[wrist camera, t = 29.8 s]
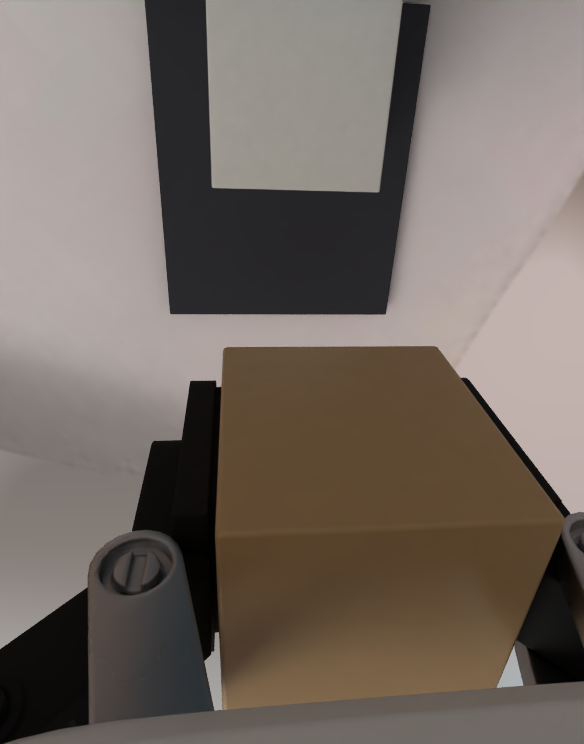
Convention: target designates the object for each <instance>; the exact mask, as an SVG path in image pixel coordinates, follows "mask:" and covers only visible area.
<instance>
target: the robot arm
mask: <svg viewBox="0 0 584 744" xmlns="http://www.w3.org/2000/svg"><path fill="white" fill-rule="evenodd" d="M461 380H462V381H463V382H464V384H465V385H466V386H467V388H468V389H469V390H470V392H471V393H472V394H473V396H474V397H475V398H476V400H477V401H478V402H479V404H480V405H481V406H482V408H483V409H484V410H485V412H486V413H487V415H488V416H489V417H490V419H491V420H492V421H493V423H494V424H495V425H496V427H497V428H498V429H499V431H500V432H501V433H502V435H503V436H504V437H505V439H506V440H507V441H508V443H509V444H510V445H511V447H512V448H513V449H514V451H515V452H516V453H517V455H518V456H519V458H520V459H521V460H522V462H523V463H524V464H525V466H526V467H527V468H528V470H529V471H530V472H531V474H532V475H533V476H534V478H535V479H536V480H537V482H538V483H539V484H540V486H541V487H542V488H543V490H544V491H545V492H546V494H547V495H548V496H549V498H550V499H551V501H552V502H553V503H554V505H555V506H556V507H557V509H558V510H559V511H560V513H561V514H562V515H563V517H564V519H565V525H564V527H563V529H562V532H561V534H560V537H559V539H558V541H557V544H556V546H555V549H554V551H553V553H552V556H551V558H550V561H549V563H548V565H547V568H546V570H545V573H544V575H543V577H542V580H541V582H540V584H539V587H538V589H537V592H536V594H535V596H534V599H533V601H532V604H531V606H530V608H529V611H528V613H527V616H526V618H525V620H524V623H523V625H522V628H521V630H520V632H519V635H518V637H517V640H516V642H515V644H514V645H515V652H516V656H517V660H518V664H519V668H520V673H521V677H522V680H523V685H524V686H516V687H502V688H489V689H476V690H463V691H450V692H437V693H424V694H411V695H398V696H386V697H373V698H361V699H349V700H337V701H324V702H312V703H300V704H288V705H276V706H264V707H252V708H240V709H228V710H217V711H214V707H213V702H212V698H211V692H210V688H209V682H208V678H207V673H206V668H205V663H204V661H205V660H206V659H207V658H208V657H209V656H210V655H211V652H212V651H214V639H215V632H219V616H218V593H217V570H216V547H215V523H216V501H217V478H218V455H219V432H220V410H221V387H216V381H190V387H189V394H188V401H187V408H186V414H185V421H184V428H183V435H182V440H175V441H153V443H152V445H151V449H150V453H149V458H148V462H147V467H146V471H145V476H144V480H143V484H142V489H141V493H140V498H139V503H138V507H137V511H136V515H135V520H134V524H133V529H132V532H129V533H126V534H123V535H120V536H118V537H116V538H114V539H113V540H111V541H109V542H108V543H106V544H105V545H104V546H103V547H102V548H101V549H100V550H99V551H98V552H97V553H96V555H95V556H94V558H93V560H92V561H91V563H90V566H89V572H88V588H86V589H85V590H83V591H82V592H80V593H79V594H78V595H76V596H75V597H74V598H72V599H70V600H69V601H68V602H66V603H65V604H63V605H62V606H61V607H59V608H58V609H56V610H55V611H54V612H52V613H51V614H49V615H48V616H47V617H45V618H44V619H42V620H41V621H39V622H38V623H37V624H35V625H34V626H33V627H31V628H30V629H28V630H27V631H25V632H24V633H22V634H21V635H20V636H18V637H17V638H15V639H14V640H13V641H11V642H10V643H9V644H7V645H5V646H4V647H3V648H1V649H0V744H584V513H583V512H578V513H574V514H570V512H569V511H568V510H567V509H566V507H565V506H564V505H563V503H562V501H561V499H560V498H559V497H558V495H557V494H556V493H555V491H554V490H553V489H552V487H551V486H550V485H549V484H548V483H547V481H546V480H545V478H544V477H543V476H542V474H541V473H540V472H539V471H538V469H537V468H536V467H535V465H534V464H533V463H532V461H531V460H530V459H529V457H528V456H527V455H526V454H525V452H524V451H523V450H522V448H521V447H520V446H519V444H518V443H517V442H516V441H515V439H514V438H513V437H512V435H511V434H510V433H509V431H508V430H507V429H506V427H505V426H504V425H503V424H502V422H501V421H500V420H499V418H498V417H497V416H496V415H495V413H494V412H493V411H492V409H491V408H490V407H489V405H488V404H487V403H486V402H485V400H484V399H483V398H482V396H481V395H480V394H479V392H478V391H477V390H476V388H475V387H474V386H473V385H472V383H471V382H470V381H469V380H468V379H467V378H461Z"/></svg>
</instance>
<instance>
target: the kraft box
mask: <svg viewBox="0 0 584 744" xmlns="http://www.w3.org/2000/svg"><path fill="white" fill-rule="evenodd" d="M564 525H565V519H564V517H563V515H562V514H561V513H560V511H559V510H558V509H557V507H556V506H555V505H554V503H553V502H552V501H551V499H550V498H549V496H548V495H547V494H546V492H545V491H544V490H543V488H542V487H541V486H540V484H539V483H538V482H537V480H536V479H535V478H534V476H533V475H532V474H531V472H530V471H529V470H528V468H527V467H526V466H525V464H524V463H523V462H522V460H521V459H520V458H519V456H518V455H517V453H516V452H515V451H514V449H513V448H512V447H511V445H510V444H509V443H508V441H507V440H506V439H505V437H504V436H503V435H502V433H501V432H500V431H499V429H498V428H497V427H496V425H495V424H494V423H493V421H492V420H491V419H490V417H489V416H488V415H487V413H486V412H485V410H484V409H483V408H482V406H481V405H480V404H479V402H478V401H477V400H476V398H475V397H474V396H473V394H472V393H471V392H470V390H469V389H468V388H467V386H466V385H465V384H464V382H463V381H462V380H461V378H460V377H459V376H458V374H457V373H456V371H455V370H454V369H453V367H452V366H451V365H450V363H449V362H448V361H447V359H446V358H445V357H444V355H443V354H442V353H441V351H440V350H439V349H438V347H435V346H395V347H227V348H224V350H223V364H222V387H221V410H220V432H219V455H218V478H217V501H216V523H215V547H216V570H217V593H218V616H219V638H220V661H221V684H222V707H223V710H228V709H240V708H252V707H264V706H276V705H288V704H300V703H312V702H324V701H337V700H349V699H361V698H373V697H386V696H398V695H411V694H424V693H437V692H450V691H463V690H476V689H489V688H496V687H497V685H498V683H499V680H500V678H501V675H502V673H503V670H504V668H505V666H506V663H507V661H508V659H509V656H510V654H511V651H512V649H513V647H514V644H515V642H516V640H517V637H518V635H519V632H520V630H521V628H522V625H523V623H524V620H525V618H526V616H527V613H528V611H529V608H530V606H531V604H532V601H533V599H534V596H535V594H536V592H537V589H538V587H539V584H540V582H541V580H542V577H543V575H544V573H545V570H546V568H547V565H548V563H549V561H550V558H551V556H552V553H553V551H554V549H555V546H556V544H557V541H558V539H559V537H560V534H561V532H562V529H563V527H564Z"/></svg>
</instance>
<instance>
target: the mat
mask: <svg viewBox="0 0 584 744" xmlns="http://www.w3.org/2000/svg"><path fill="white" fill-rule="evenodd" d="M145 8H146V20H147V33H148V45H149V57H150V70H151V82H152V95H153V107H154V119H155V132H156V144H157V157H158V169H159V181H160V194H161V206H162V218H163V231H164V243H165V256H166V268H167V280H168V293H169V305H170V313H171V314H386V309H387V302H388V295H389V288H390V281H391V274H392V268H393V261H394V254H395V247H396V240H397V233H398V226H399V219H400V213H401V206H402V199H403V192H404V185H405V178H406V171H407V164H408V157H409V151H410V144H411V137H412V130H413V123H414V116H415V109H416V102H417V96H418V89H419V82H420V75H421V68H422V61H423V54H424V47H425V40H426V34H427V27H428V20H429V13H430V5H425V4H410V3H403V4H402V12H401V20H400V28H399V36H398V45H397V53H396V61H395V69H394V77H393V85H392V93H391V102H390V110H389V118H388V126H387V134H386V142H385V150H384V158H383V167H382V175H381V183H380V191H379V192H345V191H308V190H270V189H233V188H213V187H212V177H211V146H210V115H209V85H208V54H207V23H206V0H145Z"/></svg>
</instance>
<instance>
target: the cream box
mask: <svg viewBox="0 0 584 744" xmlns="http://www.w3.org/2000/svg"><path fill="white" fill-rule="evenodd" d="M402 4H403V0H206V23H207V54H208V85H209V115H210V146H211V177H212V187H213V188H233V189H270V190H308V191H345V192H379V191H380V183H381V175H382V167H383V158H384V150H385V142H386V134H387V126H388V118H389V110H390V102H391V93H392V85H393V77H394V69H395V61H396V53H397V45H398V36H399V28H400V20H401V12H402Z"/></svg>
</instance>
